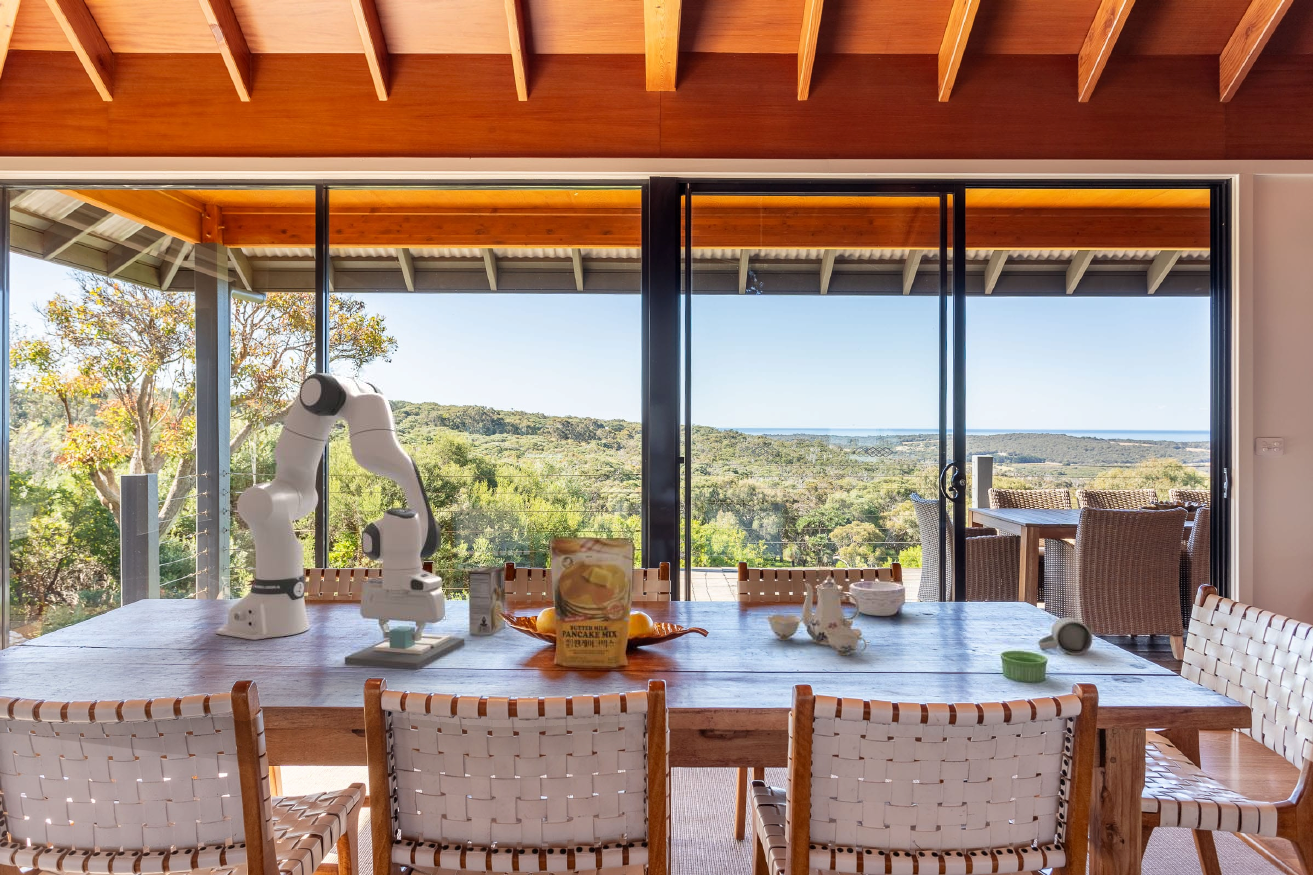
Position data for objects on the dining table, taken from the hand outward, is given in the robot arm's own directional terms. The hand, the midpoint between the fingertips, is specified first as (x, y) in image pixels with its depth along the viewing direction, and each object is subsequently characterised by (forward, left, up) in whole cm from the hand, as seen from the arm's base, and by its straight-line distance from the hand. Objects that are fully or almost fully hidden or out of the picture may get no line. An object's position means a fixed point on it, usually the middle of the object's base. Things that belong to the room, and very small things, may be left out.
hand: (402, 639), depth 181 cm
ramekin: (+135, +19, -4) cm, 136 cm away
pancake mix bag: (+44, +5, -4) cm, 45 cm away
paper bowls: (+106, +72, -4) cm, 128 cm away
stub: (0, 0, -2) cm, 2 cm away
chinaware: (+93, +36, -4) cm, 99 cm away
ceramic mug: (+148, +43, -4) cm, 154 cm away
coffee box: (+8, +26, -4) cm, 28 cm away
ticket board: (0, +2, -4) cm, 5 cm away
